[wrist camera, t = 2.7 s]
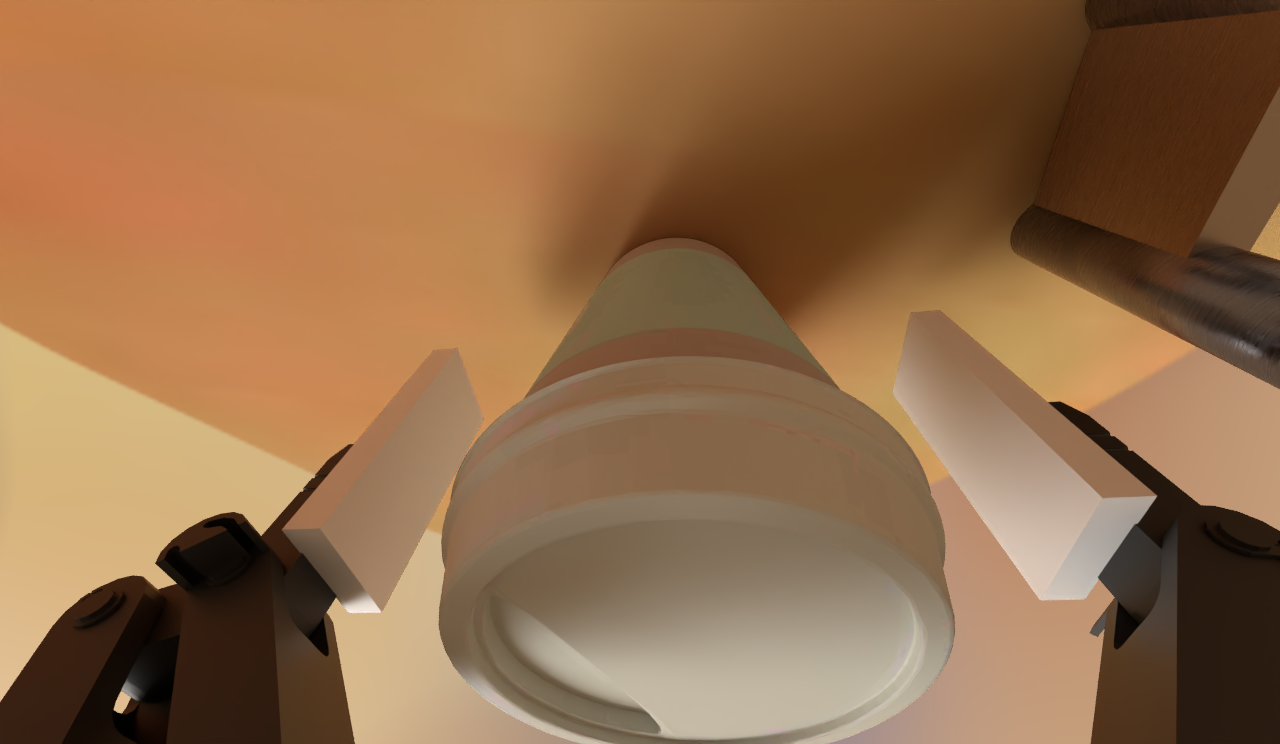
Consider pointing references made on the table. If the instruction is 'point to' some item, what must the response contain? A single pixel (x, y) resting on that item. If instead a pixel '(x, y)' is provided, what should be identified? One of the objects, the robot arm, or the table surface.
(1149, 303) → the rail
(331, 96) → the table surface
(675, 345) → the coffee cup
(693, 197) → the table surface
